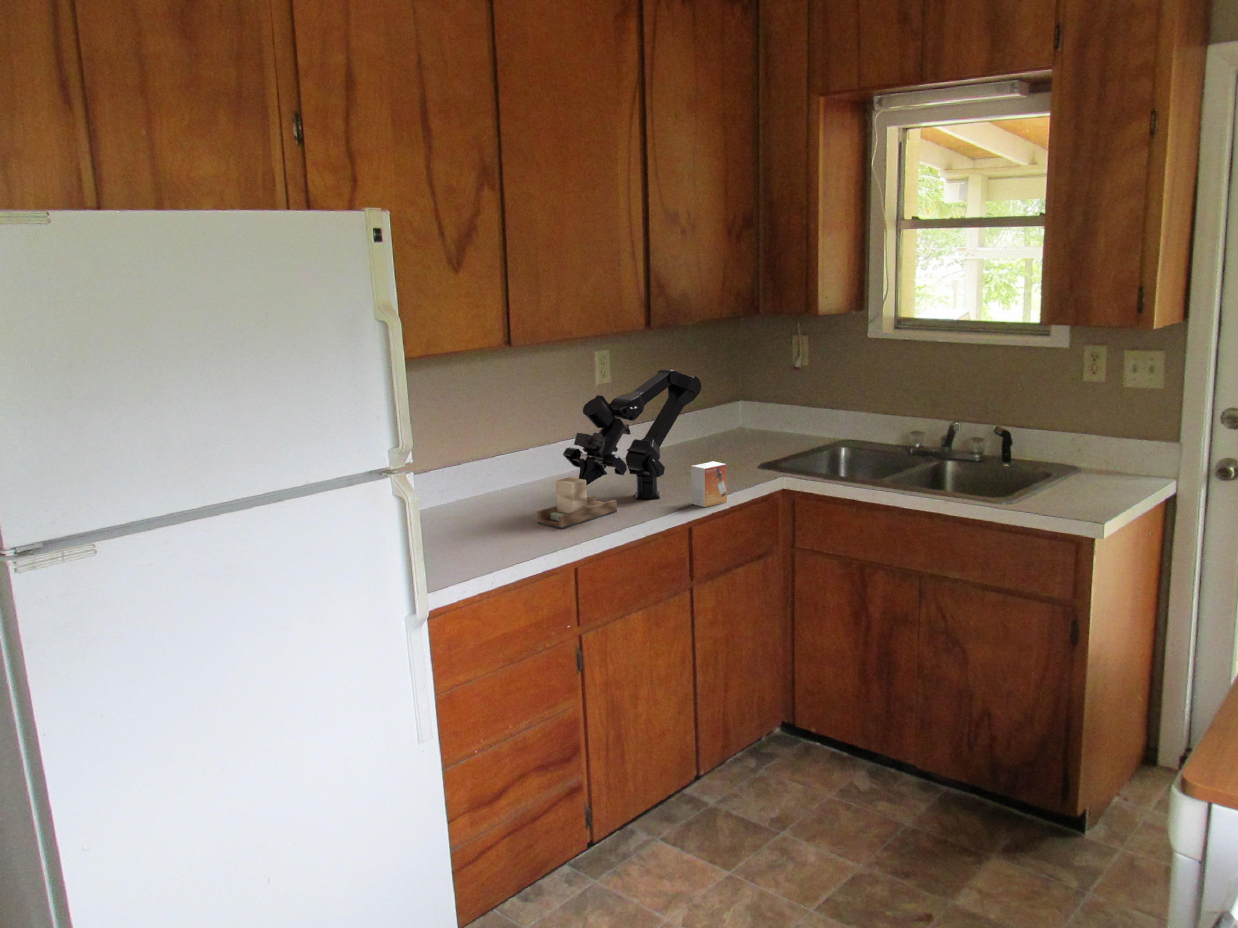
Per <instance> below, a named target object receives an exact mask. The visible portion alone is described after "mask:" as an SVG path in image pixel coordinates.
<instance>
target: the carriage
mask: <svg viewBox="0 0 1238 928" xmlns="http://www.w3.org/2000/svg"><path fill="white" fill-rule="evenodd" d="M555 494H556V506H557V511H558V512H563V513H571V512H574V511H577V510H581V509H584V508H588V507H587V497H588V492H587V486H586V480H583V479H579V477H578V478H576V477H571V476H569V477H565V478H562V479H557V480H555Z"/></svg>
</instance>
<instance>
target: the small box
mask: <svg viewBox="0 0 1238 928" xmlns="http://www.w3.org/2000/svg"><path fill="white" fill-rule="evenodd" d="M727 477H728V476H727V464H726V463H722V462H717V461H713V460H712V461H709V462H705V463H699V464H695V465H690V482H691V483H690V485H691V488H690V491H691V504H692V505H696V506H699V507H704V508H707V507H711V506H715V505H721V504H726V503H727V502H728V489H727V487H728V484H727V483H728V482H727V481H728V480H727Z"/></svg>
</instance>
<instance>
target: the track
mask: <svg viewBox="0 0 1238 928" xmlns="http://www.w3.org/2000/svg"><path fill="white" fill-rule="evenodd" d="M617 505H618V504H617V499H613V500H608V501H600V500H596V495H589V496H588V495H587V507H588V508H584V509H581V510H577V511H574V512H571V513H563V512H558V511H557V505H555V506H550V507H546V508H543V509H540V510H537V512H536V515H537V524H539V525H543V526H547V525H548V527H552V528H556V529H560V530H564V529H567V528H571V527H573V526H576V525H580V524H583V523H587V522H590V521H593V520H596V519H599V518H603V517H606V516H609V515H612V514H615V513H617V512H618V509H617V508H618V507H617Z"/></svg>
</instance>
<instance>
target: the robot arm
mask: <svg viewBox="0 0 1238 928" xmlns="http://www.w3.org/2000/svg"><path fill="white" fill-rule="evenodd" d="M666 389H667V399H666V401H665V403H664V405H663V406H662V408H661V409H660V410H659V413H658V414H657V416H656V417H655V419H654V421H653V423H652V424H651V426H650V427H649V429H648V431H647V432H646V433H645V436H644V437H643V438H641V439H637V438H635V439H634V440H632V442H631V444H630V446H629V448H627V450H626V452H627V453H626V454H625V461H624V460H623V459H622V458H621V457H620V456H619V454H614V453H617V452H618V450H619V448H618V447H617V445H618V444H619V442H620V440H621V438H622V436H623V435H627V436H629V435H631V429H630V425H629V424H628V423H624V421H632V422H633V421H635V420H636V419H638V418H639V416H641V414H642V413H643V412H644V410H645V406H646V405H647V404H648V403H650V402H651V401H652V400H653V399H655V398H656V397H658V396H659V395H660V394H661V393H663V392H664V391H665V390H666ZM701 391H702V383H701V380H700V378H699V377H698V376H694V375H686V374H683V373H681V372H678V371H676V370H674V369H667V368H664V369H663V368H662V369H659V370H657V373H656V374H654V375H653V376H652V377H650V378H649V379H648V380H647V381H645V382H644V383H643V384H641V385H640V386H639V387H637V388H636V389H634V390H633V391H631V392H627V393H624V394H620V395H619V396H616V397H614V398H613V399H612V400H611V402H608V401H607V400H606V398H605V397H604V395H602V394H601V395H599V394H597V395H596V396H595V397H594V398H592V399H590V400H589V401H587V403H585V404H584V405H583V407H582V413H583V415H584V416H585V417H586V418H587V419H588V420H589V422H591V423H592V424H593V426H594V427H595V428H597V429H599V431H598V432H593V433H592V434H588V433H582V432H576V435H575V438H574V442H573V445H574V446H579V447H581V448H582V449H581V450H580V448H577V447H571V446H570V447H566V448H565V450H564V451H563V454H562V456H563V457H565V459H566V460H567V461H568V462H569V463H570V464H571V465H572V466H574V467H576V468H579V473H578V479H583V480H586V487H587V486H589V485H590V484H591V483H593V482H594V481H596V480H598V479H600V478H601V477H603V476H606V475H608V472H607V471H608V469H609V468H614V474H616V475H619V476H624V475H625V474H626V472H627V470H628V471H629V474H630V475H636V476H635V477H636V491H635V494H634V495H635V499H636V500H650V499H653V500H655V499H661V495H660V491H658V488H659V485H658V478H661V476H664V475H665V469H666V467H665V466H664V464H663V463H661V461H660V458H661V449H660V448H661V446H662V444H663V442H664V441H665V440H666V438H667V435H668V434H669V432H670V430H671V429H672V427H673V425H674V424H675V422H676V420H677V419H678V417H679V416H680V413H681V412H682V410H683V409H684V407H686V406H688V405H689V404H691V403H692V402H694V401H695V400H696V399H697V397H698V396H699V395H700V393H701ZM623 420H624V421H623ZM582 451H583V452H584V453H583V452H582ZM613 452H614V453H613ZM627 468H628V469H627Z"/></svg>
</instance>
